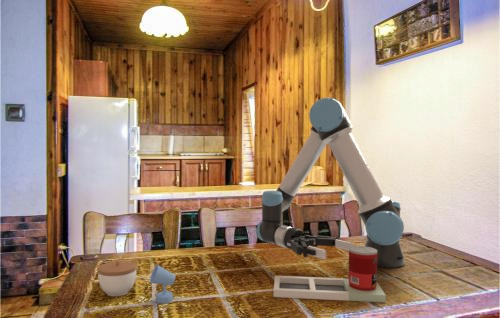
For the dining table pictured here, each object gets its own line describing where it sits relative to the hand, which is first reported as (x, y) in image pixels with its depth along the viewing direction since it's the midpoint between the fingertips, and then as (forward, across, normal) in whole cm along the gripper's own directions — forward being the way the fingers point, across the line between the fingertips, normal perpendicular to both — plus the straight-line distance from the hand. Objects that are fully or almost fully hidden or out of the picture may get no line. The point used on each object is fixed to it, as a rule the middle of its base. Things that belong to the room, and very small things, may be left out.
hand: (339, 251), depth 114 cm
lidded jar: (-37, +56, -11) cm, 68 cm away
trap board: (+1, +7, -10) cm, 13 cm away
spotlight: (-23, +48, -11) cm, 55 cm away
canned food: (+8, 0, -9) cm, 12 cm away
